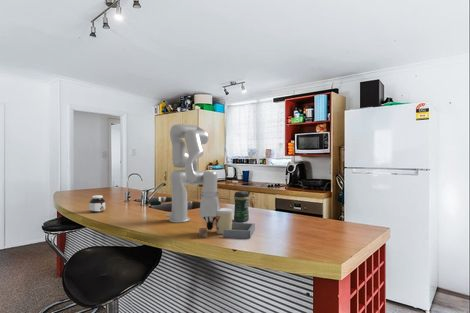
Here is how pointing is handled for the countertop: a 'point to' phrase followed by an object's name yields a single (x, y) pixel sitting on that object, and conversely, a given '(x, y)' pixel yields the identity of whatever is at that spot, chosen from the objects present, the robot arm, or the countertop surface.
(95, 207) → the spread jar
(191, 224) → the countertop surface
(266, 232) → the countertop surface
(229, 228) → the coffee cup
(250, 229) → the tray
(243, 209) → the coffee jar
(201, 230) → the walnut block
